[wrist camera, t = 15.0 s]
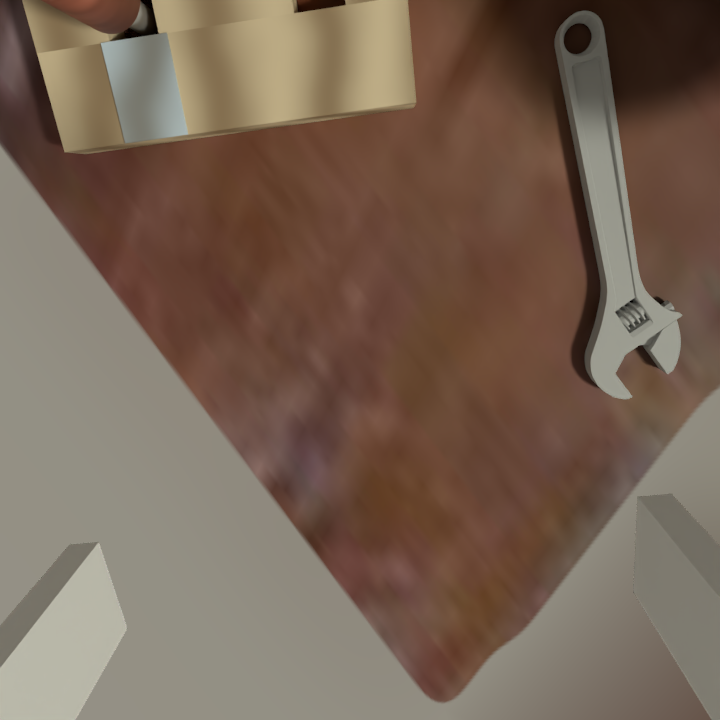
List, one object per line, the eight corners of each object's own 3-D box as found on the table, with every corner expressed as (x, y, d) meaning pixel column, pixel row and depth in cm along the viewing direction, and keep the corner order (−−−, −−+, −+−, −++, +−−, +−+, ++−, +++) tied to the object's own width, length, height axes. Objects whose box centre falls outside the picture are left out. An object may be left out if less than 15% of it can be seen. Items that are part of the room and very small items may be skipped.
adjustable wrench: (546, 25, 33) (554, 16, 31) (653, -4, 32) (668, -14, 30) (586, 394, 40) (595, 403, 38) (674, 377, 39) (687, 385, 38)
